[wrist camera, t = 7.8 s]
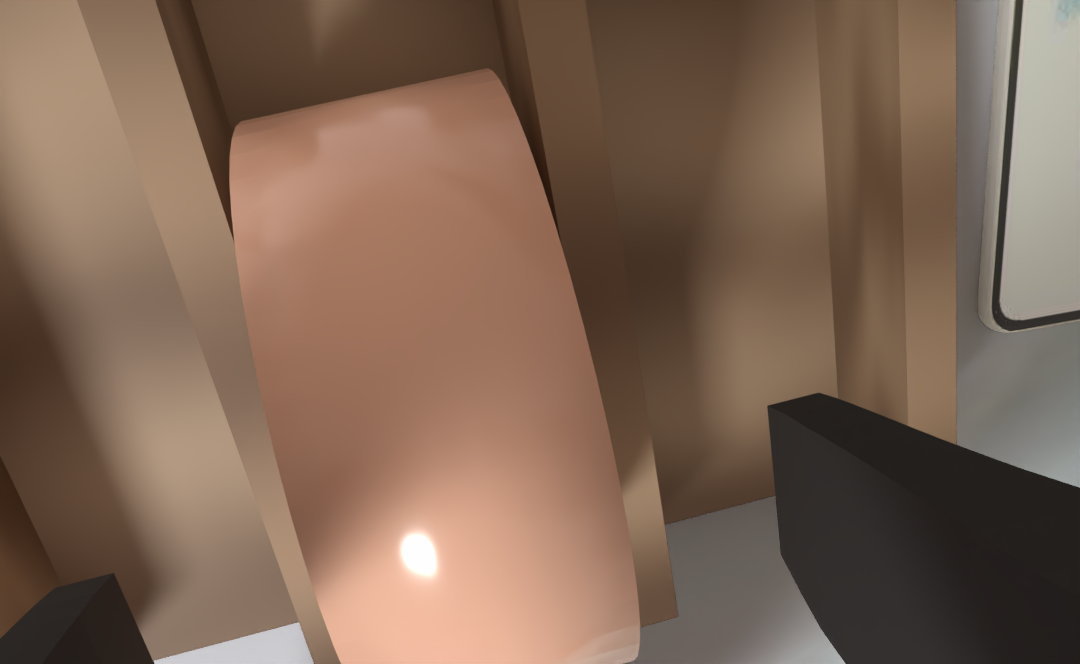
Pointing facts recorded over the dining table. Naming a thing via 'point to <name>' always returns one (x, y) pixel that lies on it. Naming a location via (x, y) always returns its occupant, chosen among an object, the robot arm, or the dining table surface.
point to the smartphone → (1033, 170)
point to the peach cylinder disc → (430, 382)
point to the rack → (581, 221)
